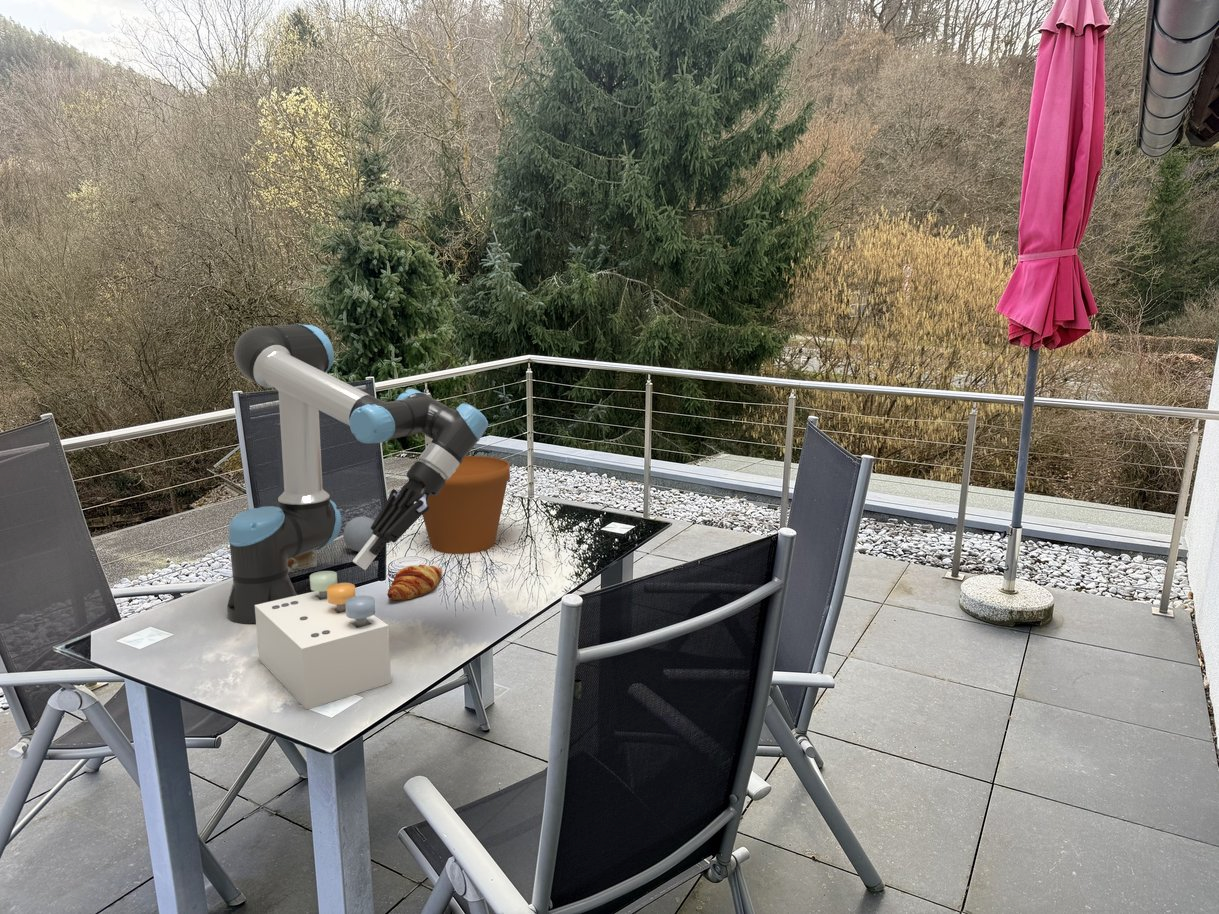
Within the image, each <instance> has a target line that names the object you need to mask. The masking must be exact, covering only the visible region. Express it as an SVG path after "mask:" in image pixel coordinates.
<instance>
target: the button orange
mask: <svg viewBox="0 0 1219 914" xmlns="http://www.w3.org/2000/svg"><path fill="white" fill-rule="evenodd" d="M352 597H356V585H355V584H353V583H351V582H339V583H338V582H337V584H333V585H330V586H329V587H327V600H328V603H330V604H335V605H337V613H342V612H346V604H345V602H346V600H347V599H349V598H352Z"/></svg>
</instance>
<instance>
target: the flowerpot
mask: <svg viewBox="0 0 1219 914" xmlns="http://www.w3.org/2000/svg"><path fill="white" fill-rule="evenodd" d="M412 466H413V464H412V465H410V468H411V467H412ZM510 466H511V464H510V462H509V461H507V460H505V459H501V458H497V457H494V456H493V457H492V456H482V455H481V456H479V455H467V456H466V457H465V458H464V459H463V461H462V462H461V464H460V465H459V466H458V468H457V469H456V472H455V473H453V474H452V476H451V477H450V478H449V479H447V480H446V479H445V481H446V482H445V483H446V484H445V485H444V486H443V488H442V489H441V490H440V492H439V493H438V494H437V495H436V496H433V495H430V496H429V498H428V500H427V501H426V505H428V506H429V507H430V508H429V510H428V511H427V512H425V513H424V514H423V515H422V519H423V521H424V526H425V529H426V534H427V537H428V540H429V543H430V548H431V549H432V550H434V551H436V552H439V553H443V554H448V555H449V554H450V555H451V554H452V555H467V554H475V553H479V552H480V553H481V552H483V551H488V550H489V549H491V548H493V547H494V546H495V544H496V539H497V534H498V529H499V525H500V519H501V514H502V510H503V505H504V500H505V493H506V489H507V486H508V485H507V484H508V481H509V480H510V478H511V471H510V470H511V467H510Z"/></svg>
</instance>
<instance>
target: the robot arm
mask: <svg viewBox="0 0 1219 914" xmlns="http://www.w3.org/2000/svg"><path fill="white" fill-rule="evenodd" d="M233 357H234V358H233V359H234V362H235V365H236V367H237V369H238V370H239V372H240V373H241V374H242V375H243V376H244V377H245V378H247V379H248V380H250V381H251V382H253V383H255V384H257V385H259V386H261V387H263V388H267V389H270V388H274V389H276V390H277V392H278V405H279V419H280V420H279V423H280V437H281V454H282V455H281V456H282V457H281V459H282V472H283V488H284V490H283V492H282V493H281V494H280V495H279V496H278V498H277V501H278V502H277V503H278V505H277V506H274V505H271V506H270V505H269V506H268V505H267V506H260V507H257V508H256V507H253V508H250V509H246V510H244V511H242V512H239V513H237V514H236V515H234V516H233V517H232V518H231V519H230V520H229V524H228V542H229V551H230V560H231V561H230V562H231V563H230V564H231V572H232V586H231V590H230V594H229V596H228V601H227V605H226V611H227V613H226V614H227V617H228V620H230V621H232V622H235V623H238V624H240V623H241V624H256V616H255V605H257V604H262V603H266V602H270V601H275V600H279V599H283V598H288V597H292V596H297V595H298V593H297V592H296V590H295V587H294V585H293V582H292V581H291V579H290V576H289V573H288V565H287V560H288V559H290V558H293V557H296V556H299V555H302V554H305V553H308V552H311V551H314V550H316V551H318V550H320V549H324V547H327V546H328V545H330V544H332V543H333V542H334V541H335V540H336V539H337V538H338V536H339V535H340V531H341V528H342V515H341V511H340V509H338V508H337V507H338V505H336V503H335V502H334V501H333V500H331V499H330V496H331V495H330V494H329V492H327V491H326V490H324V489H323V472H322V470H323V469H322V448H321V431H320V430H321V429H320V412H322V413H324V414H325V415H328V416H330V417H332V418H333V419H336V420H337V421H339V422H341V423H343V424H345V425H347V426H349V427H350V428H349V429H350V432H351V434H352V435H354V437H355V438H356V440H357V441H358V442H360V443H362V444H368V445H369V444H380V443H385V442H387V441H391V440H396V439H399V438H402V437H403V438H404V437H409V436H412V435H418V434H423V435H425V436H426V437H429V438H430V439H432V440H431V441H430V443H429V444H428V445H427V446H426V448H425V449H424V450H423V451H422V453H421V454H420V455H419V456H418V460H419V461H415V462H414V463H413V464H412V465H413V466H412V465H411V466H412V467H411V466H410V468H409V470H408V471H406V477H407V478H408V481H407V482H406V483H405V484H404V485H402V487H401V489H400V490H397V489H395V488H393V489H391V490H390V492H389V496H388V499H386V502H385V503H384V505H383V506H382V508H381V509H380V511H379V513H378V514H377V515H376V518H375V520H374V523H373V524H372V526H371V529H372V530H373V532H372V533H373V535H372V536H371V538H370V539H369V540H368V542H367V543H366V544H365V545H364V547H363V548H362V549H361V551H360V552H358V553H357V554H356V555H355V557H354V558H353V560H352V563H354V564H355V565H357V566H358V567H360V568H361V569H363V570H364V571H366V570H367V569H368V567H369V566H370V565H371V564H372V563H373V561H374V560H375V558H376V557H377V556H378V555H379V554H380V552H381V551H382V550H383V548H384V547H385V545H386V544H390V542H391V543H396V542H397V541H398V540H399V539H400V538H401V537H402V536H403V535H404V534H405V533H406V532H407V531H408V530H409V529H410V527H412V525H413V524H415V523H416V521H418V520H419V518H420V517H421V516H423V514H424V513H425V512H427V511H428V510H429V508H430V507H429V506H428V505H426V501H427V500H428V498H429V496H430V495H433V496H436V495H437V494H438V493H439V492H440V490H441V489H442V488H443V486H444V485H445V484H446V483H445V482H446V481H445V479H446V480H447V479H449V478H450V477H451V476H452V474H453V473H455V472H456V469H457V468H458V466H459V465H460V464H461V462H462V461H463V459H464V458H465V457H466V456H468V454H469V453H470V452H471V450H472V449H473V448H474V447H475V446H476V444H477V443H478V442H479V441H480V440H481V438H482V436H483V435H484V434H485V432H486V430H487V429H488V426H489V421H488V420H487V417H486V416H485V415H484V414H483V413H482V412H481V411H480V410H479V409H477V408H476V407H474V406H473V405H471V404H469V403H468V404H467V403H461V404H460V405H459V406H458V407H456V409H454V408H452V407H449V406H447V405H445V404H444V403H442V402H441V401H438V400H436V398H433V397H431V396H430V395H429V394H427V393H425V392H423V391H422V392H421V391H419V390H417V389H414V388H409V389H406V390H405V391H404V392H402V393H400V394H399V395H398V396H397V398H396V400H392V401H391V400H390V401H384V400H381V399H379V398H377V397H375V396H372V395H371V394H369V393H367V392H365V391H364V390H361V389H359V388H357V387H355V386H354V385H353V386H352V385H351V384H349V383H347V382H345V381H343V380H341V379H339V378H337V377H335V376H333V375H331V374H329V373H327V372H328V371H329V370H330V369H331V367H332V366H333V364H334V361H335V353H334V347H333V345H332V342H331V340H330V338H329V337H328V335H326V334H325V332H324V331H323V330H322V329H321V328H319V327H317V326H314V325H310V324H300V323H298V324H283V325H282V324H281V325H259V326H254V327H252V328H249V329H248V330H246V331H245V332H243V333H242V334H241V335H240V337H239V338H238V339H237V340H236V342H235V346H234V349H233Z"/></svg>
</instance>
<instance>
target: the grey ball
mask: <svg viewBox="0 0 1219 914" xmlns="http://www.w3.org/2000/svg"><path fill="white" fill-rule="evenodd" d="M374 521H375V520H374V519H373V518H371V517H369V516H368V517H367V516H356V517H354V518H351V520H349V521H348V522H347V524H346V525H345V527H344V529H343V534H342V535H343V541H344V543H345V545H346V546H347V547H348V548H349V549H350V550H352V551H354V552H358V553H359V552H360V551H361V549H362V548H363V547H364V545H365V544H366V543H367V542H368V540H369V539H370V538H371V536H372V535H373V533H372V532H373V530H372V529H371V526H372V524H373V523H374Z"/></svg>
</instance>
